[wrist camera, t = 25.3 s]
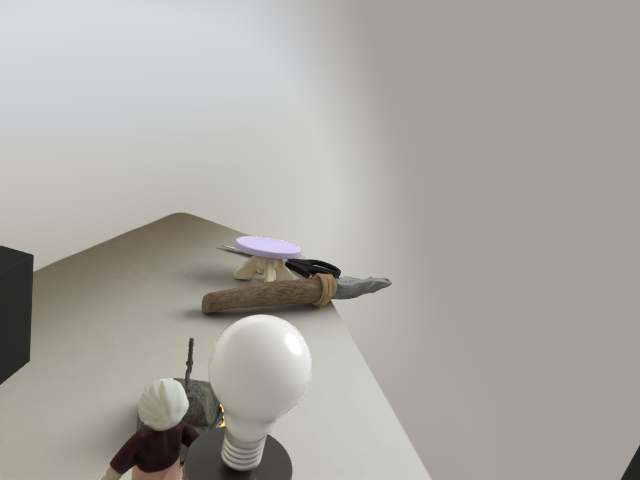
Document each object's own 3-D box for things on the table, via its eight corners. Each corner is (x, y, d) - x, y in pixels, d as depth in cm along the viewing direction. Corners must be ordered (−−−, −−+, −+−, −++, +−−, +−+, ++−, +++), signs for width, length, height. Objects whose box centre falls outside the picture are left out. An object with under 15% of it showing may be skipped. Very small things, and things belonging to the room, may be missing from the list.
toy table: (227, 286, 78) (234, 248, 76) (231, 263, 86) (237, 228, 84) (296, 297, 79) (304, 260, 77) (293, 273, 87) (300, 239, 86)
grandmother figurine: (172, 480, 46) (193, 352, 41) (201, 510, 44) (227, 380, 39) (83, 532, 40) (96, 390, 35) (113, 570, 38) (130, 424, 33)
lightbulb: (195, 425, 39) (220, 289, 35) (283, 433, 40) (316, 303, 36) (186, 498, 33) (213, 345, 29) (289, 505, 34) (328, 360, 31)
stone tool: (220, 305, 66) (405, 288, 83) (211, 272, 68) (394, 263, 85) (205, 325, 70) (384, 306, 87) (197, 294, 72) (374, 281, 89)
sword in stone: (154, 382, 56) (168, 278, 52) (230, 398, 56) (251, 296, 52) (117, 454, 46) (131, 334, 42) (209, 472, 47) (232, 355, 43)
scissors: (228, 235, 93) (342, 266, 92) (227, 240, 94) (341, 271, 92) (215, 248, 87) (338, 281, 86) (214, 253, 87) (336, 286, 86)
